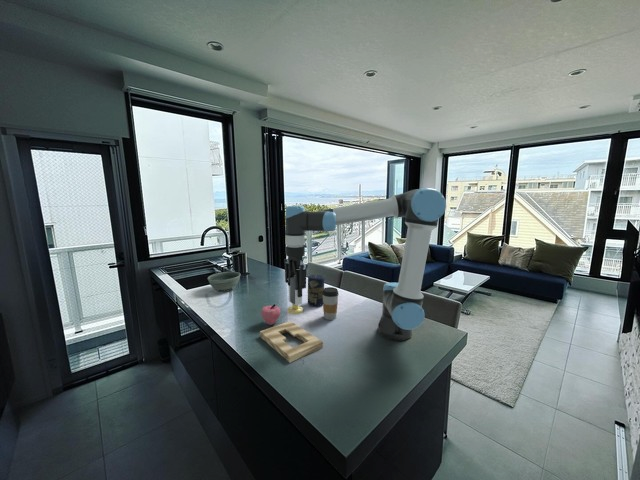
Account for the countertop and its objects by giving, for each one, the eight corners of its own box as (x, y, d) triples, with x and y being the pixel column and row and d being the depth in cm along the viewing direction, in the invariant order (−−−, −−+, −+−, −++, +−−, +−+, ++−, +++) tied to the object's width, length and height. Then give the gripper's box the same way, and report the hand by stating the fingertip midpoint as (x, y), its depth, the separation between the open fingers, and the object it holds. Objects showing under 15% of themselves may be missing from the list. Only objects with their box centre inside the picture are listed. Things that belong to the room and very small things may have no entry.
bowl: (235, 295, 166) (234, 280, 164) (202, 295, 166) (201, 279, 164) (245, 284, 186) (244, 271, 185) (215, 284, 186) (215, 271, 185)
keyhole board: (322, 347, 107) (322, 341, 107) (289, 362, 97) (289, 356, 97) (290, 326, 126) (290, 320, 125) (260, 336, 116) (259, 331, 115)
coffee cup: (337, 321, 130) (337, 293, 128) (320, 320, 132) (320, 291, 130) (339, 314, 138) (339, 287, 136) (323, 313, 140) (323, 286, 138)
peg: (305, 311, 106) (305, 278, 104) (293, 315, 102) (293, 281, 100) (297, 306, 111) (297, 274, 109) (285, 310, 107) (284, 277, 105)
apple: (274, 317, 134) (273, 299, 133) (284, 323, 128) (284, 304, 127) (258, 323, 128) (257, 304, 126) (267, 330, 122) (267, 309, 120)
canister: (304, 306, 149) (304, 275, 147) (311, 300, 158) (311, 271, 155) (320, 308, 146) (320, 277, 143) (326, 302, 155) (326, 273, 152)
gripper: (316, 247, 98) (315, 306, 102) (291, 241, 111) (291, 294, 115) (299, 250, 94) (299, 311, 97) (275, 243, 107) (276, 298, 110)
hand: (295, 302), depth 106 cm, fingers closed on peg, 4 cm apart
